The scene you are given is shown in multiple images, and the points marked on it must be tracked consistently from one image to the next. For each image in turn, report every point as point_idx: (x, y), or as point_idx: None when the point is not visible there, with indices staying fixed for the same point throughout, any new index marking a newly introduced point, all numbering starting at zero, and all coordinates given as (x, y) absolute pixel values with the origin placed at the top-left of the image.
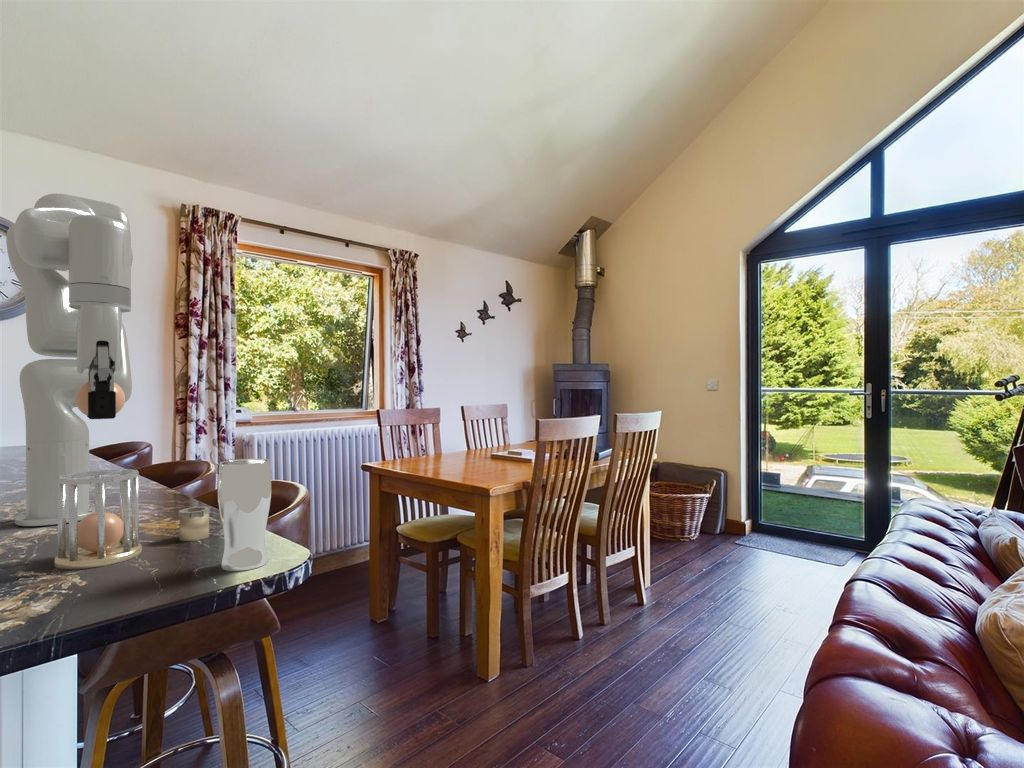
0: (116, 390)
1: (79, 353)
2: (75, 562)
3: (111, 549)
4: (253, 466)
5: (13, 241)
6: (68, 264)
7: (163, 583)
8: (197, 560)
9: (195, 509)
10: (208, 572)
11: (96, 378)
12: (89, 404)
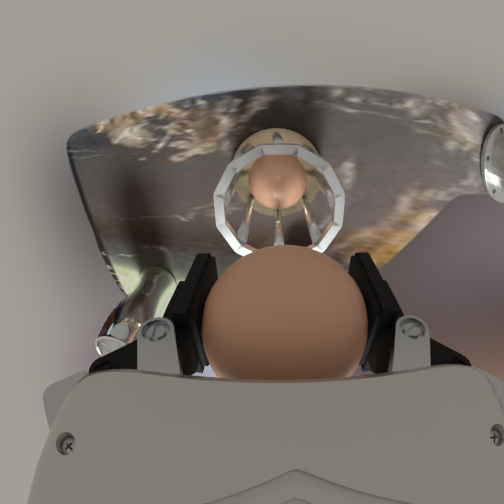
0: None
1: (47, 444)
2: (238, 149)
3: None
4: (100, 351)
5: None
6: None
7: (137, 221)
8: (195, 254)
9: None
10: (150, 255)
11: (94, 363)
12: (187, 282)
